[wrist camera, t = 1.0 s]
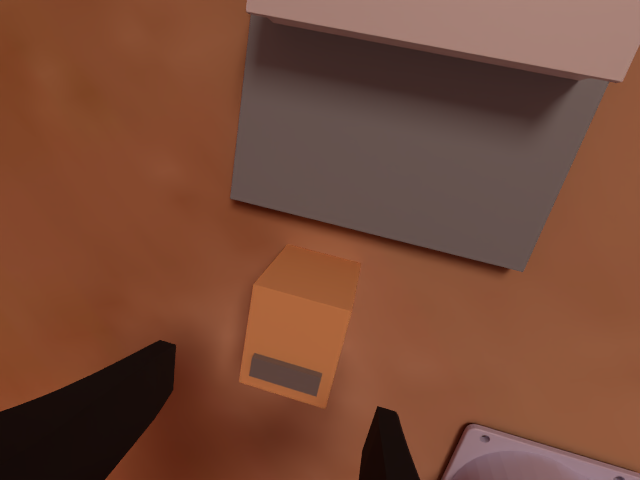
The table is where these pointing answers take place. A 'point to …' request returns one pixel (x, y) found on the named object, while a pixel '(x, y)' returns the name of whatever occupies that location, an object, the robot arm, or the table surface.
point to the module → (299, 324)
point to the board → (425, 113)
